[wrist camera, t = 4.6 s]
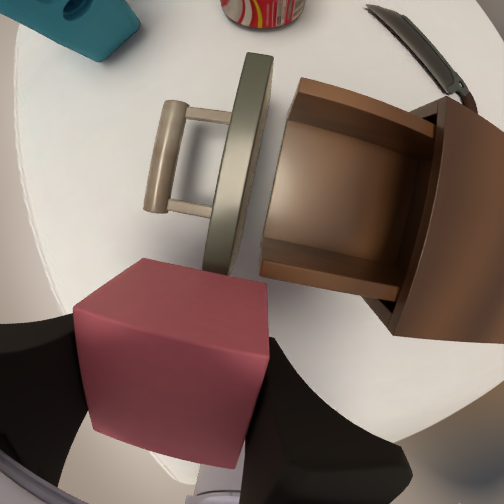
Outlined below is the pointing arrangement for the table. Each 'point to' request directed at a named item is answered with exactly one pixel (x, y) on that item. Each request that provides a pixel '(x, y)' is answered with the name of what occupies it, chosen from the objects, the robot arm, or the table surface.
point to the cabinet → (456, 236)
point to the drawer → (310, 184)
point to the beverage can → (262, 12)
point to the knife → (426, 53)
